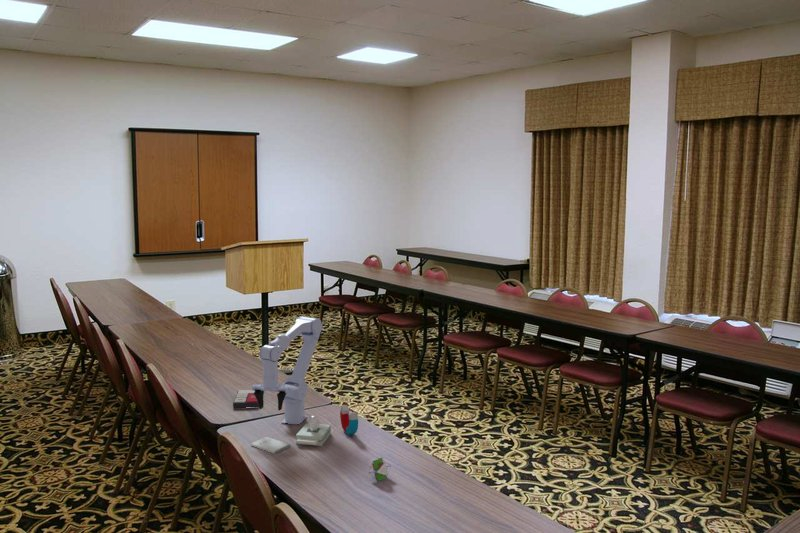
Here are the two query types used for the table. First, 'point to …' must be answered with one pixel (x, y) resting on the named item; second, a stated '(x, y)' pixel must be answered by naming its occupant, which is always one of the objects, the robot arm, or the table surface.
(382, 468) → the geometric puzzle
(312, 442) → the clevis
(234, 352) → the table surface
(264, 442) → the external hard drive
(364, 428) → the table surface
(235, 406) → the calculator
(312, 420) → the pin
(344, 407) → the magnet
